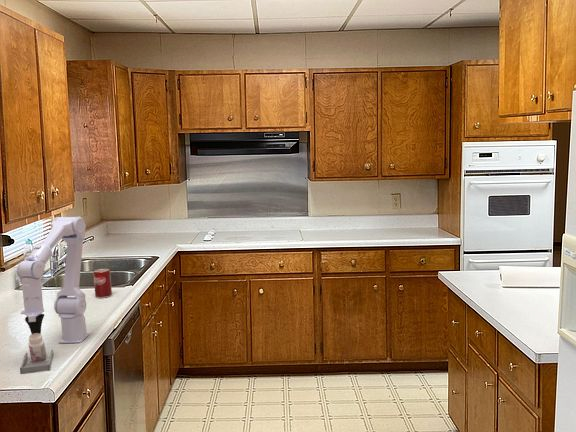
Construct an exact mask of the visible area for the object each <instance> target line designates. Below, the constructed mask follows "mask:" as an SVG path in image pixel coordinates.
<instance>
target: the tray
mask: <svg viewBox="0 0 576 432" xmlns="http://www.w3.org/2000/svg"><path fill="white" fill-rule="evenodd" d="M54 355H55V354H54V349H51V350H50V355H49V358H48V359H47V360H42V361H38V362H35V361H31V362H30V361H29V362H27V361H28V359H29V356H28V352H25V355H24V356H23V359H22V362H21V363H20V364H21V365H20V367H19V373H20V375H22V374H24V375H25V374H30V373H31V374H32V373H39V372H45V371H46V372H47V371H51V367H52V363H53V358H54Z"/></svg>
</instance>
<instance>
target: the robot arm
mask: <svg viewBox="0 0 576 432" xmlns="http://www.w3.org/2000/svg"><path fill="white" fill-rule="evenodd" d="M86 225H87V224H86V222H85V220H84V219H83V217H81V216H56V217H54V219H53V221H52V222H50V227H51V228H50V231H49V233H48V234H47V236H45V239H44V241H43V242H42V243H39V244H36V245H35V247H34V249H33V250H32V251H31V252H30V254H28V256H27V258H26V259H25V260H22V261H21V262H19V263H18V265H17V269H16V276H17V277H18V278H19V283H20V284H21V286H22V297H23V306H24V307H23V308H24V310H21V311H20V315H25V316H26V317H24V321H25V323H26V324H27V325H28V327H29V330H30V332H31V334H34V333H40V334H41V333H42V323H43V320H44V317H45V313H44V312H45V308H44V302H43V292H42V291H43V290H42V282H41V281H42V279H41V277H42V276H43V275H44V271H45V268H46V264H47V263H48V262H49V259H50V258H51V257H52V255H53V251H52V250H53V248H54V247H55V246H56V245H57V244H58V243H59V242H60V241H61V240H62V241H63V242H65V243H66V245H67V247H66V257H65V267H64V277H63V288H62V289H60V290H59V291H58V292H57V293H56V299H55V301H54V303H53V304H54V305H53V308H54V312H55V313H56V314H57V315H58V318H60V324H61V326H60V327H61V335H62V338H61V339H60V340H59V341H58V344H71V343H72V344H74V343H75V344H76V343H78V344H80V343H82V342H83V341H84V340H85V339H86V338H87V337H88V336H89V335H90V333H89V332H87V325H86V324H87V323H86V317H85V315H84V314H85V312H86V310H87V301H86V293H85V292H83V290H81V289H80V281H81V269H82V257H83V256H82V255H83V246H84V245H83V243H84V240H85V236H86V227H87V226H86ZM31 334H30V335H31ZM41 335H42V334H41Z"/></svg>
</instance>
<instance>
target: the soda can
mask: <svg viewBox="0 0 576 432" xmlns="http://www.w3.org/2000/svg"><path fill="white" fill-rule="evenodd" d="M92 273H93V285H94V295H95V298H97V299H107V298H109V297H112V296H113V292H112V291H113V289H112V278H111V270H110V269H109V268H98V269H95V270H93V272H92Z"/></svg>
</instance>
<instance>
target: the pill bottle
mask: <svg viewBox="0 0 576 432" xmlns="http://www.w3.org/2000/svg"><path fill="white" fill-rule="evenodd" d="M28 350H29V355H30V359H31V362H38V361H45V359H46V357H47V351H46V346H45V341H44V338H43V335H42V334H40V333H34V334H30V335H29V337H28Z"/></svg>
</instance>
